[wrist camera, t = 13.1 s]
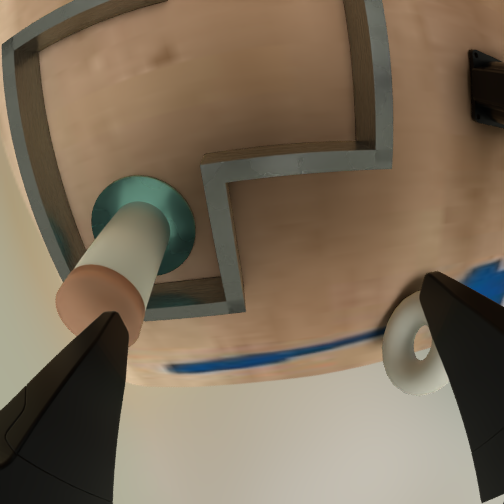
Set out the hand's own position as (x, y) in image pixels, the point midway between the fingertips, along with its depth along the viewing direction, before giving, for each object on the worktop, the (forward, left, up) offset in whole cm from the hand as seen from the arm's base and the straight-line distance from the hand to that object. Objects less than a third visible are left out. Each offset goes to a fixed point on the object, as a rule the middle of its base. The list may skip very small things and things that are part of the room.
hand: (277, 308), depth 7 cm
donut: (-14, +15, -13) cm, 24 cm away
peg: (+8, +3, -12) cm, 15 cm away
